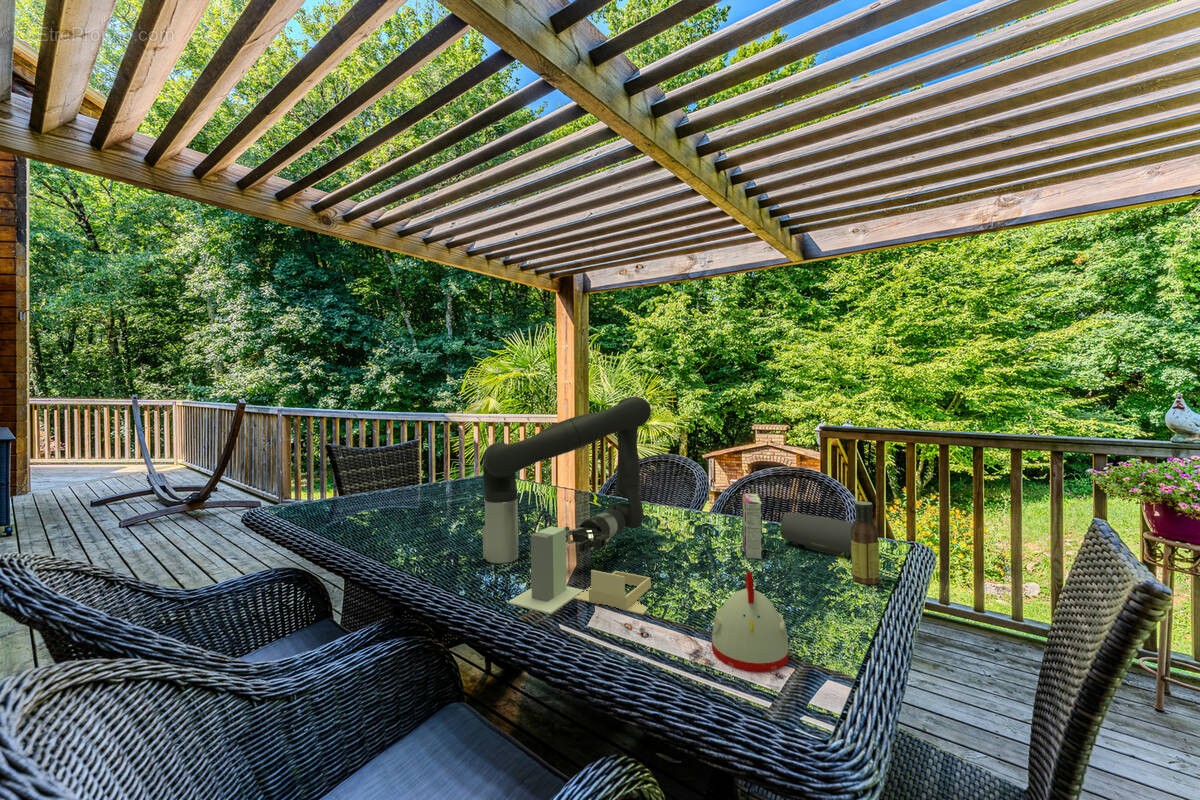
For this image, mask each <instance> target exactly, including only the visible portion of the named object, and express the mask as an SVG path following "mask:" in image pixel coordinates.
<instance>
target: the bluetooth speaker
mask: <svg viewBox="0 0 1200 800" xmlns="http://www.w3.org/2000/svg"><path fill="white" fill-rule="evenodd" d="M853 524H854V522H852V521H847V520H841V519H836V518H831V517H826V516H819V515H813V514H806V513H805V514H804V513H798V512H785V513H784V514H783V516H782V520H781V525H780V529H779V530H780V536H781V537H782V539H783V540H786V541H789V542H792V543H796V544H799V545H804V549H807V550H811V551H814V552H820V553H824V554H828V555H836V556H841V555H842V554H848V555H851V527H852V525H853Z"/></svg>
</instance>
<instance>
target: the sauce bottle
mask: <svg viewBox="0 0 1200 800" xmlns="http://www.w3.org/2000/svg"><path fill="white" fill-rule="evenodd" d="M873 509H874V506H873V503H872V502H870V501H863V500H860V501H855V502H854V510H855V520H854V522H853V523H854V524H853V525H852V527H851V554H850V555H851V573H852V579H853V580H854V581H856V582H857V583H860V584H864V585H877V584H879V582H880V575H881V574H880V547H879V545H880V543H879V533H878V532H879V530H878V527H877V526H876V524H875V522H874V520H873Z"/></svg>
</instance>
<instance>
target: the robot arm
mask: <svg viewBox="0 0 1200 800" xmlns="http://www.w3.org/2000/svg"><path fill="white" fill-rule="evenodd" d="M651 414H652V409H651V406H650V404H649V402H648V401H647V400H646V399H644V398H643V397H639V396H630V397H629V396H628V397H624V398H622V399H621V400H620V401H618V403H617V404H616V405H614V406H612V407H608V408H607V409H603V410H601V411H596V412H591V413H586V414H581V415H577V416H573V417H570V418H567V419H565V420H561V421H560V422H559V421H558V422H556V423H554V424H552V425H550V426H547V427H546V428H545V429H542V430H541V431H539V432H538V433H536V434H535V435H532V436H531V437H530V436H529V437H528V438H525V439H521V440H519V441H515V442H512V443H505V442H494V443H492V444H490V445H489V446H488V447H487V448H486V449H485V451H484V453H483V456H482V457H483V458H482V468H483V471H482V473H483V491H484V492H483V493H484V518H485V519H484V520H485V521H484V522H485V523H484V525H483V526H482V556H483V558H482V559H484V560H485V561H487V562H488V563H491V564H507V563H511V562H514V561H516V560H518V558H519V517H518V516H519V513H518V512H519V511H518V510H519V509H518V506H519V505H518V488H517V481H516V478H517V477H516V473H517V472H519V471H521V470H523V469H525V468H527V467H529V466H532V465H534V464H536V463H538V462H541V461H545V460H548V459H552V458H555V457H558V456H560V455H561V456H562V455H563V454H564V455H565V454H567V453H570V452H572V451H575V450H579V449H581V448H583V447H585V446H588V445H590V444H592V443H594V442H597V441H599V440H601V439H603V438H605V437H606V436H610V435H612V434H615V433H616V434H617V465H616V466H617V468H616V469H617V470H616V484H615V490H616V493H617V494H618V495H620V496H623V497H625V498H626V499H627V502H628V503H625V502H615V503H614V502H613V504H611V505H610V507H609V508H608V509H607V510H606V511H603V512H602V513H598V514H596V515H593V516H592V517H589V518H586V519H585V520H583V521H582V522H581V523H580V525H579V527H576V528H574V529H570V527H569V526H565V527H563V528H564V529H566V544H568V545H572V544H578V545H579V552H580V553H584V552H586V551H589V550H593V549H595V548H596V550H601V549H603V548H605V547H607V546H608V545H609V544H610V539H612V538H613V537H614V536H616V535H618V534H619V533H621V532H622V531H623V530H624V528H628V529H638V528H639V527H641V526H642V523H643V521H644V518H645V517H644V509H643V504H642V498H641V492H640V482H641V481H640V478H641V466H640V457H639V451H638V432H639V431H638V430H639V427H640V426H643V425H644V424H646V423H647V422H648V420H649V419H650V417H651ZM571 537H572V539H571Z"/></svg>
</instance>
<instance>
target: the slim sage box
mask: <svg viewBox="0 0 1200 800" xmlns="http://www.w3.org/2000/svg"><path fill="white" fill-rule="evenodd" d="M564 528H565V527H559V526H557V527H556V526H552V525H550V526H547V527H546V528H543V529H541V530H538V531H537V532H535V533H532V534H530V573H531V574H530V575H531V578H530V579H531V581H530V582H531V583H530V584H531V588H532V598H533V599H537V600H541V601H545V602H548V601H550V600H551V599H553V598H555V597H556V596H558V595H559V594H561V593H562V592H564V591H565V590H567V586H568V585H567V543H566V529H564Z"/></svg>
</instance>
